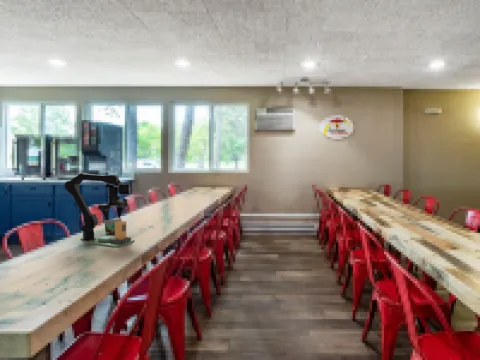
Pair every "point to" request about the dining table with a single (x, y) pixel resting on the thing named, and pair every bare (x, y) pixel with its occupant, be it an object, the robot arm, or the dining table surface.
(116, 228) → the chute block
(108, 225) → the food container
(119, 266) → the dining table surface
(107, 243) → the green domed base plate
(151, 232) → the dining table surface
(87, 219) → the robot arm
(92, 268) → the dining table surface
